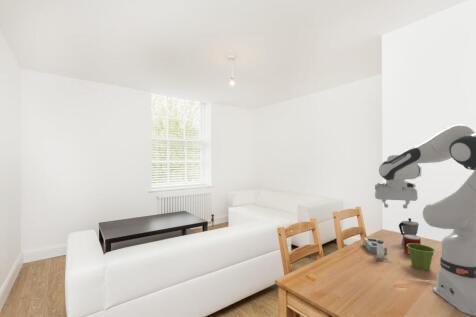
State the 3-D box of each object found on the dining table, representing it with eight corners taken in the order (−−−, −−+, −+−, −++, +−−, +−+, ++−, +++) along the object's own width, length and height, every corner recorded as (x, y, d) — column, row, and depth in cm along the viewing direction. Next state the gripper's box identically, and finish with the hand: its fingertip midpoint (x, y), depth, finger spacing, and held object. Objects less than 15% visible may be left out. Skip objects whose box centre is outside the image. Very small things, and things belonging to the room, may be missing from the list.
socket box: (386, 256, 136) (386, 247, 136) (369, 254, 138) (369, 245, 138) (378, 246, 151) (377, 238, 152) (362, 245, 154) (362, 237, 154)
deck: (390, 264, 125) (390, 262, 125) (376, 263, 127) (376, 261, 127) (384, 257, 135) (384, 255, 135) (371, 255, 136) (371, 254, 136)
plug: (385, 260, 129) (385, 242, 129) (378, 259, 129) (377, 241, 130) (383, 257, 132) (382, 240, 132) (376, 256, 133) (375, 239, 133)
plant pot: (441, 275, 114) (440, 252, 114) (414, 273, 116) (414, 250, 116) (426, 264, 125) (426, 243, 125) (402, 262, 127) (402, 242, 128)
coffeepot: (411, 241, 159) (410, 216, 159) (425, 246, 150) (424, 219, 150) (393, 243, 156) (392, 217, 156) (406, 248, 147) (405, 221, 147)
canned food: (424, 257, 134) (423, 238, 134) (410, 257, 134) (410, 238, 134) (414, 252, 142) (414, 234, 142) (401, 252, 142) (401, 234, 142)
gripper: (376, 183, 129) (376, 208, 129) (419, 184, 124) (419, 210, 124) (373, 182, 135) (373, 205, 136) (413, 183, 130) (413, 207, 130)
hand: (395, 207), depth 130 cm, fingers open, 8 cm apart
